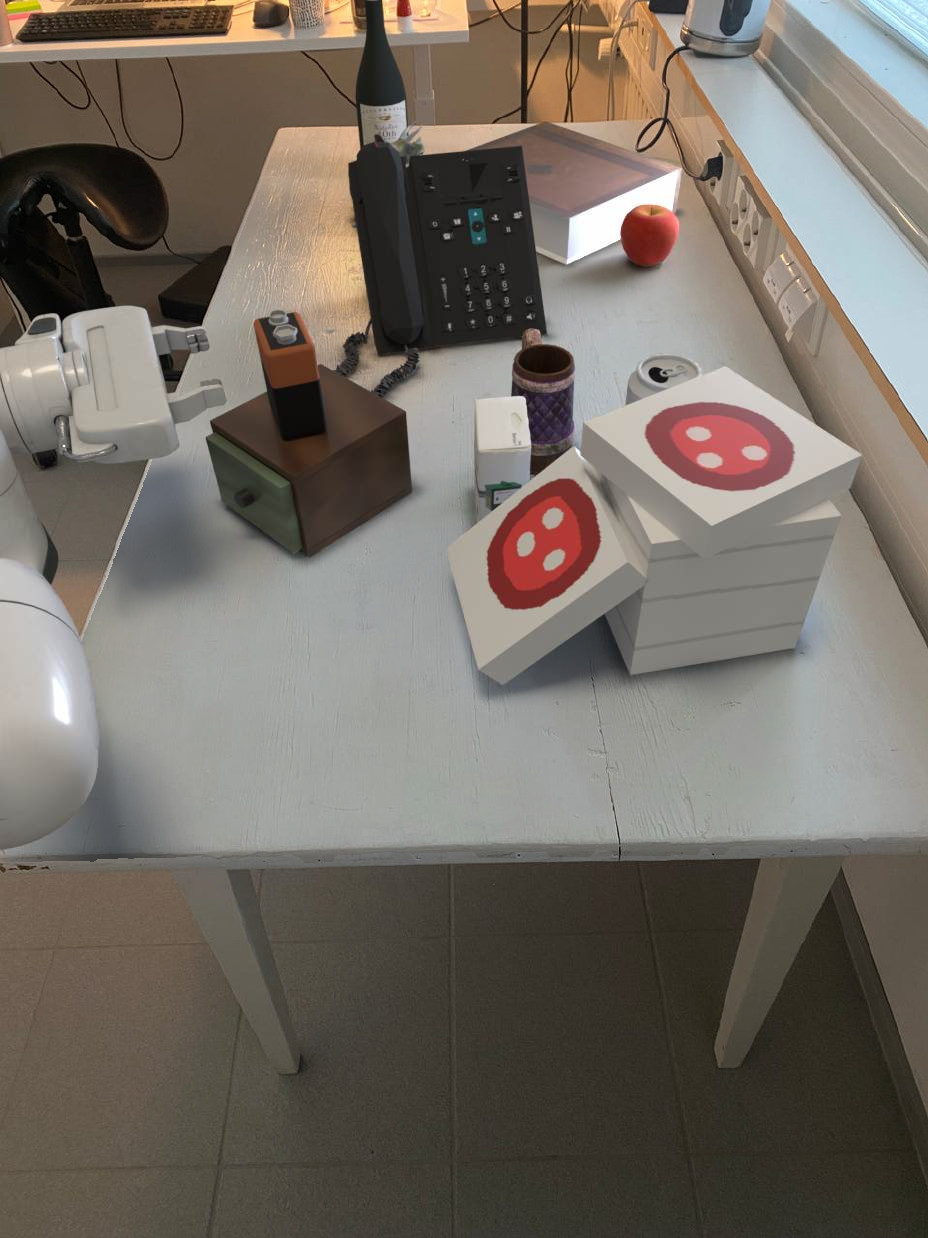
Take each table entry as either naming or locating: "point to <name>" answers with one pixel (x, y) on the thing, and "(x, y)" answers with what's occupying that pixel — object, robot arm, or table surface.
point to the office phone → (443, 251)
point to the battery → (291, 374)
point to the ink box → (500, 451)
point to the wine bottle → (379, 84)
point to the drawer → (255, 491)
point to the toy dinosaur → (403, 146)
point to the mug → (545, 397)
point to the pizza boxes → (661, 534)
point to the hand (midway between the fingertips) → (215, 363)
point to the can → (660, 375)
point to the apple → (649, 234)
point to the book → (585, 187)
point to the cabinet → (331, 457)
